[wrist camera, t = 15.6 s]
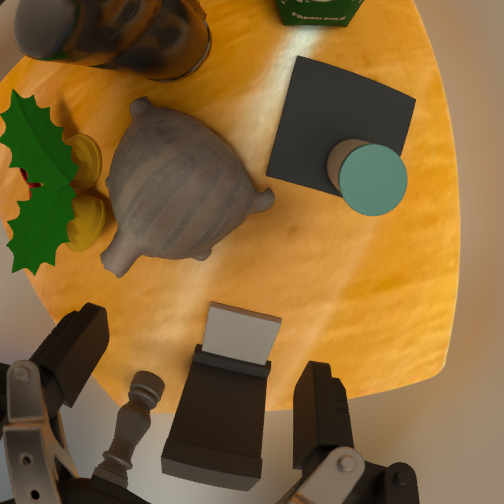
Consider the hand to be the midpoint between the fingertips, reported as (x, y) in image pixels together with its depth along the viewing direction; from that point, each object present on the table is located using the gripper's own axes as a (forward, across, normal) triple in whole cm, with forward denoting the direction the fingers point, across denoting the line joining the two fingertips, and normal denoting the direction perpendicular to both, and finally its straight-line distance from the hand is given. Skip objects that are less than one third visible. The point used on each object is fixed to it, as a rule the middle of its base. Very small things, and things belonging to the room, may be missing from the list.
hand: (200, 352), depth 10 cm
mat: (+25, -8, -9) cm, 28 cm away
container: (+24, -10, -6) cm, 27 cm away
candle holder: (+25, +12, +40) cm, 48 cm away
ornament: (+25, +24, +1) cm, 35 cm away
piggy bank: (+25, +9, +1) cm, 27 cm away
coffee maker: (+25, -3, +25) cm, 35 cm away
